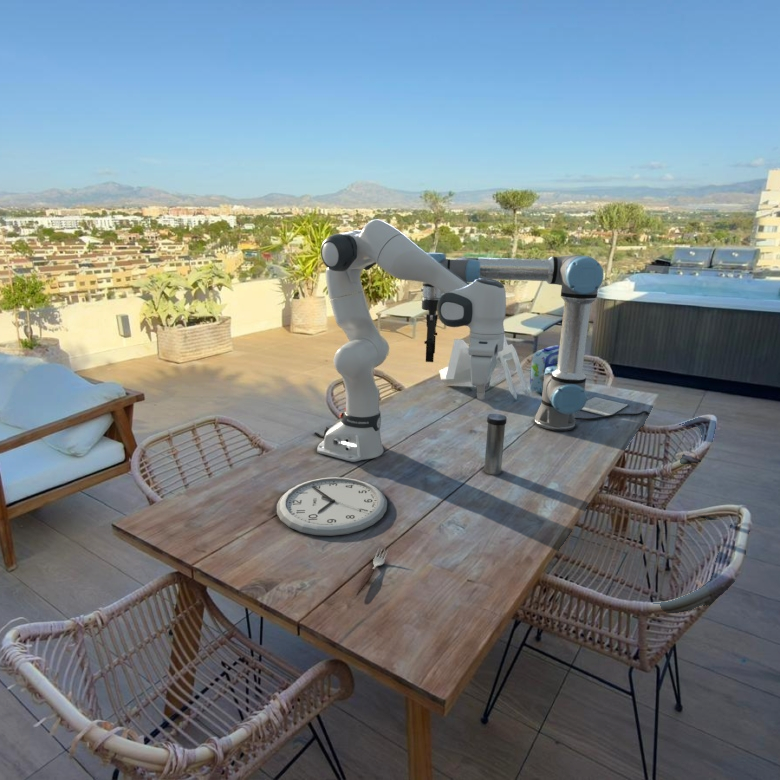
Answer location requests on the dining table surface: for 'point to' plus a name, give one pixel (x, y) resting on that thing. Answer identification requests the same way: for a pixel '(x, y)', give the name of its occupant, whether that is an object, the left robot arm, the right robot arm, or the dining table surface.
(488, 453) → the silver metal canister
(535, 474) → the dining table surface
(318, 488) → the wall clock
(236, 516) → the dining table surface
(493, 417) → the lid
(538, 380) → the lunch box
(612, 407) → the invitation card
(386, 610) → the dining table surface
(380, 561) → the fork
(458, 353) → the white plastic object
